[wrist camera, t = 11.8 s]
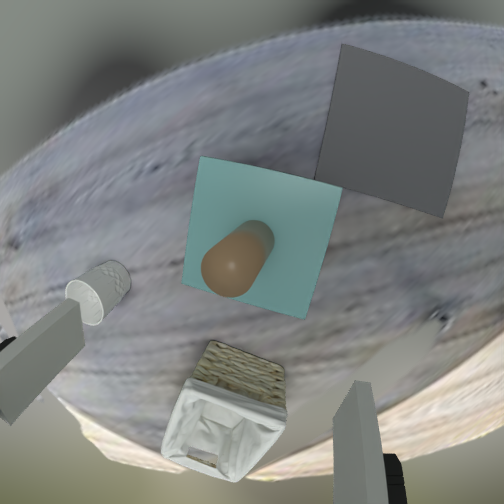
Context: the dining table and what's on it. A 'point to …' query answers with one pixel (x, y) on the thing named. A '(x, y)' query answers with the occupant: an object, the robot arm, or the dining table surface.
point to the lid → (258, 234)
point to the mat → (392, 131)
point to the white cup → (99, 290)
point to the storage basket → (227, 412)
